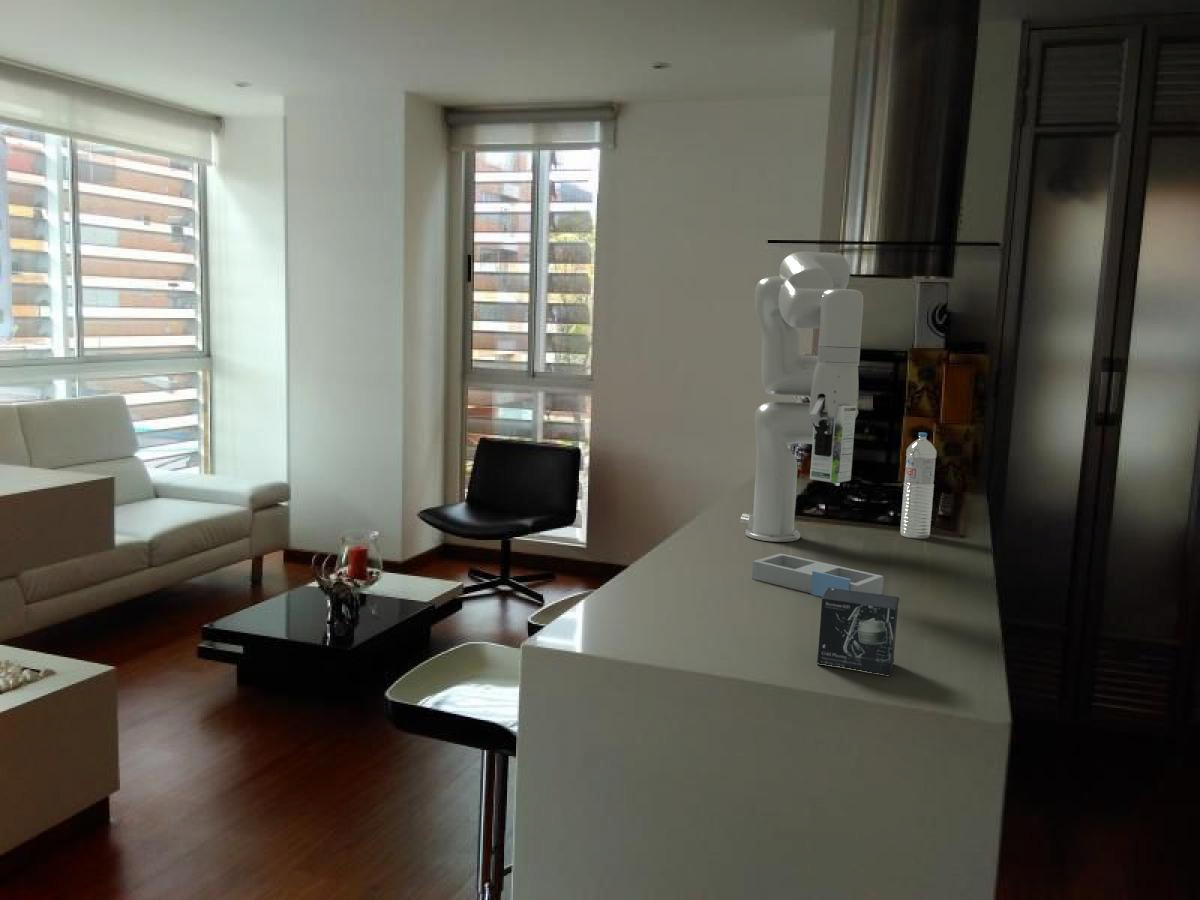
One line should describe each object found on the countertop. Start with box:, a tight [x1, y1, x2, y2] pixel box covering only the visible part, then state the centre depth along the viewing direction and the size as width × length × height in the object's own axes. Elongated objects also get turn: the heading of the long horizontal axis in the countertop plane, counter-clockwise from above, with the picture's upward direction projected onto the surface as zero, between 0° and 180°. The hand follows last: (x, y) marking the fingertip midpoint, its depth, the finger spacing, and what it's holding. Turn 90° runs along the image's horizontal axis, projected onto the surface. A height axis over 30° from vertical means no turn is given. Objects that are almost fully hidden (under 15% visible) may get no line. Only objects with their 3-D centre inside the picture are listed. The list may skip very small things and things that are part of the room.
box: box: [816, 588, 900, 676], centre depth 141 cm, size 11×7×10 cm, turn 69°
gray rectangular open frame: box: [751, 553, 884, 598], centre depth 183 cm, size 22×10×4 cm, turn 47°
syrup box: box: [809, 404, 856, 484], centre depth 178 cm, size 6×6×14 cm
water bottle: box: [899, 432, 938, 540], centre depth 228 cm, size 7×7×25 cm
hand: (832, 453), depth 178 cm, fingers closed on syrup box, 5 cm apart
